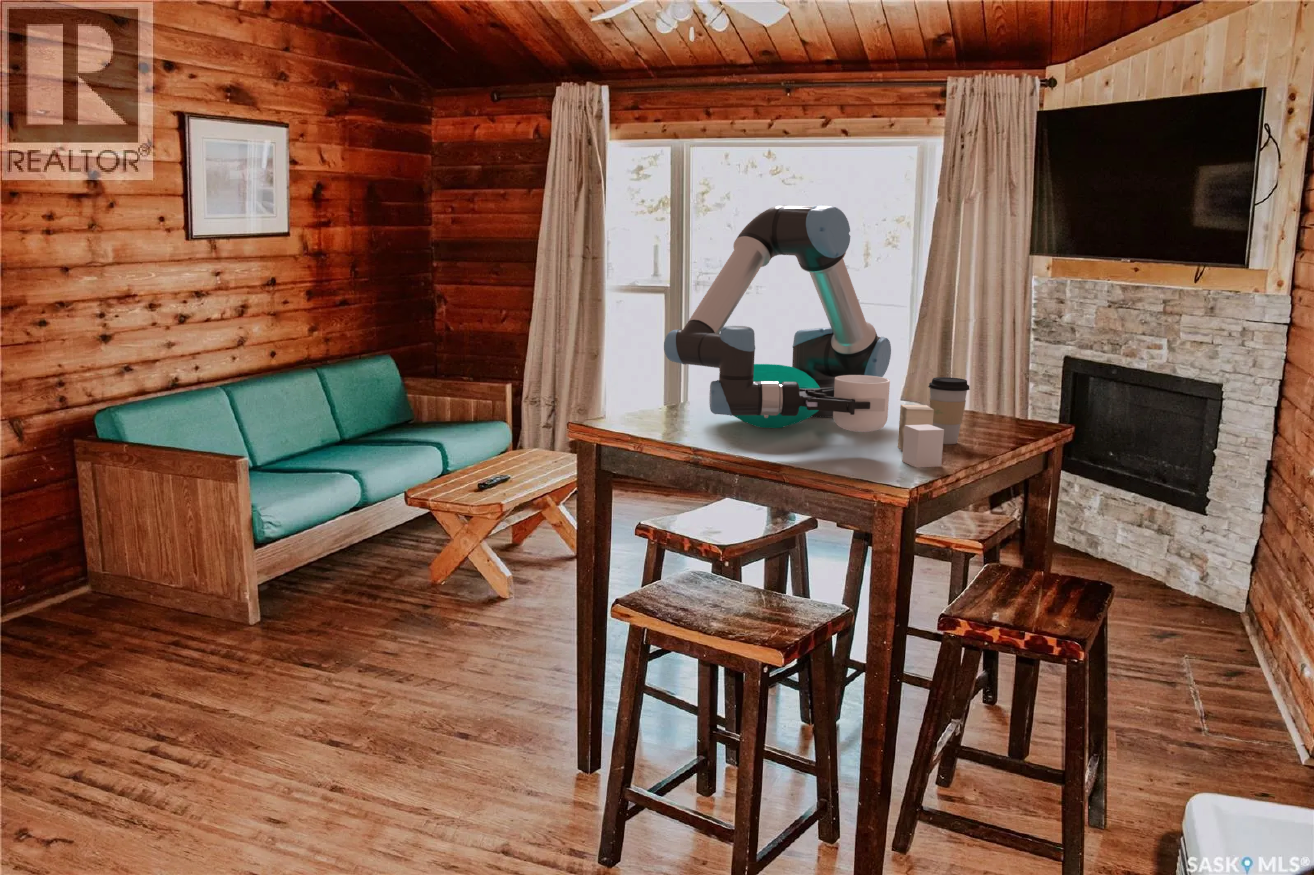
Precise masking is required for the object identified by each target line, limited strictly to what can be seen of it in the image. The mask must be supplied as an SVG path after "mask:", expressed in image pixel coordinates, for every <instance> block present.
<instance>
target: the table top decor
mask: <svg viewBox="0 0 1314 875" xmlns="http://www.w3.org/2000/svg"><path fill="white" fill-rule="evenodd" d="M753 381H756V382H757V381H760V382H761V381H778V382H779V384H781V383H782V382H797V383H798V385H799V389H800V388H803V389H811V388H820V387H819V385H818V384H817V383H816V381H815V380H814V379H813V378H811V377H810V376H809V375H808V374H806V373H805V372H803V371H801V370H799V369H796V368H794V367H792V366H791V365H789V366H788V365H783V364H775V363H754V377H753ZM817 411H819V410H807V407H803V406H800V407H799V412H798V414H797V415H796V416H782V415H781V414H780V413H779V414H778V415H768V418H765V417H764V415H732V416H733V417H734V418H736V419H738V420H740V421H742V422H744V423H747V424H749V425H752V426H753V427H754V426H755V427H757V428H765V429H783V428H785V427H787V426H791V425H794V424H799V423H800V422H803V421H804V420H807V419H809V418H812V417H811V416H812V415H813V414H815V413H816V412H817Z"/></svg>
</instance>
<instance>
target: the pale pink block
mask: <svg viewBox="0 0 1314 875" xmlns="http://www.w3.org/2000/svg"><path fill="white" fill-rule="evenodd" d="M943 437H944V429H941V428H938V427H935V426H932V425H930V424H926V425H905V427H904V441H903V451H902V458H901V461H902V463H905V464H908V465H910V466H912V467H914V468H930V467H931V468H933V467H935V468H936V467H942V460H943V448H944V444H943Z"/></svg>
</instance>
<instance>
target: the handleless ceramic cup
mask: <svg viewBox="0 0 1314 875" xmlns="http://www.w3.org/2000/svg"><path fill="white" fill-rule="evenodd" d="M890 384H891V380H890V379H889V378H886V377H884V376H883V377H877V376H867V375H844V376H837V377H835V386H834V397H838V398H846V399H854V398H885V411H855V412H854V415H850V413H847V412H835V411H833V417H832V418H833V421H834V423H835V424H836V426H838V427H839V428H841V429H843V430H846V431H851V432H858V433H861V432H863V433H867V432H875V431H878V430H881V429H883V428H884V426H886V424H887V423H888V422H887V421H888V416H889V404H890V403H889V401H890Z"/></svg>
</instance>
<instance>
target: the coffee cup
mask: <svg viewBox="0 0 1314 875" xmlns="http://www.w3.org/2000/svg"><path fill="white" fill-rule="evenodd" d="M928 384H929V385H928V388H929V393H930V396H929V407H930V408H932V409H934V414H933V426H935V427H938V428H941V429H944V437H943V445H955V444H958V440H959V435H960V429H961V425H962V423H963V418H964V417H963V416H964V412H965V407H966V399H967V391H969V390H971V389H970V385H969V384H968V380H967V379H965V378H960V377H950V376H948V377H947V376H945V377H944V376H943V377H942V376H941V377H940V376H938V377H936V376H935V377H933V378H932V379H931V382H929V383H928Z"/></svg>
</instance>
